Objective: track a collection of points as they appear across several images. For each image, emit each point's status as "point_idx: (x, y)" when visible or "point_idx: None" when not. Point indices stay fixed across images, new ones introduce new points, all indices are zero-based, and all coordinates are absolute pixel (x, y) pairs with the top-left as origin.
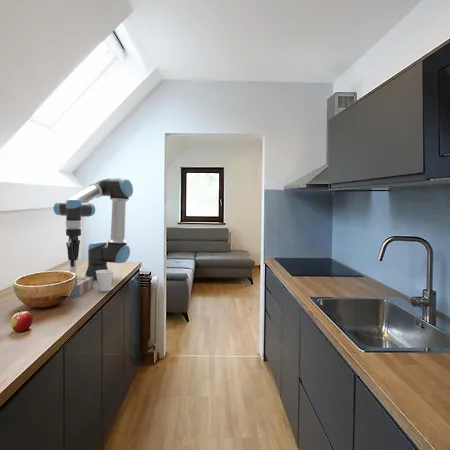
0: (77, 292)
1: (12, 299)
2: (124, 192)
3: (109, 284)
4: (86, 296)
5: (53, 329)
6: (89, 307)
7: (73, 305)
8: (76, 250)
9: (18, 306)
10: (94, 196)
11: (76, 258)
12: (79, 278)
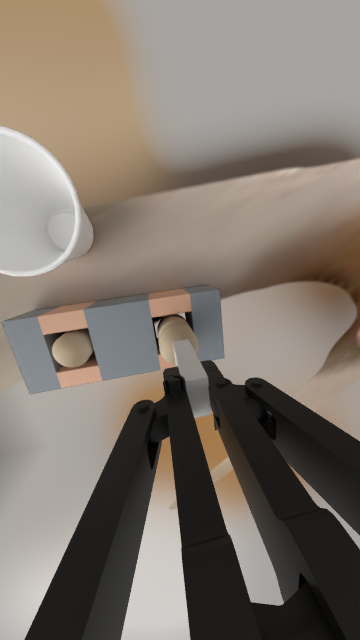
0: (206, 287)
1: None
2: None
3: (60, 190)
4: (185, 258)
5: None
6: (322, 172)
7: (303, 240)
8: (193, 473)
9: (324, 375)
10: None
11: (178, 393)
12: (77, 359)
